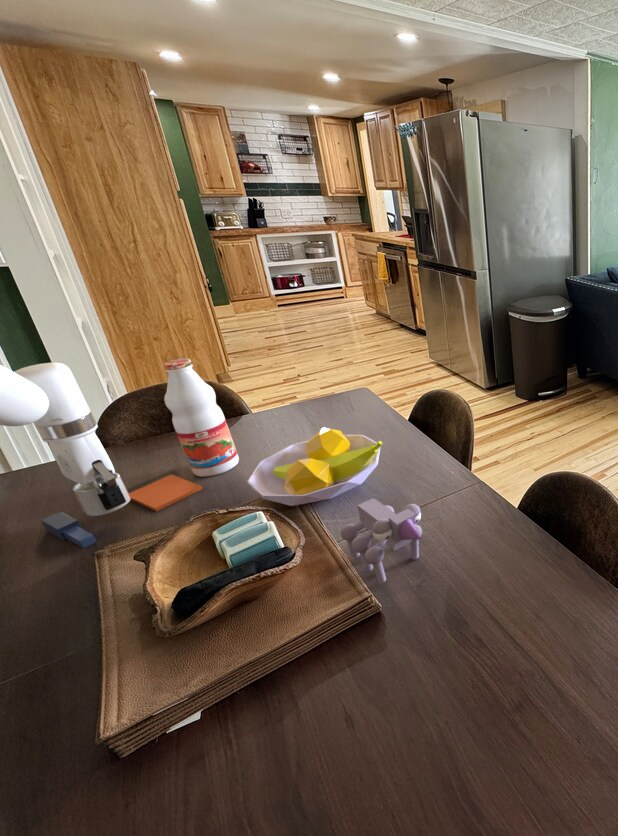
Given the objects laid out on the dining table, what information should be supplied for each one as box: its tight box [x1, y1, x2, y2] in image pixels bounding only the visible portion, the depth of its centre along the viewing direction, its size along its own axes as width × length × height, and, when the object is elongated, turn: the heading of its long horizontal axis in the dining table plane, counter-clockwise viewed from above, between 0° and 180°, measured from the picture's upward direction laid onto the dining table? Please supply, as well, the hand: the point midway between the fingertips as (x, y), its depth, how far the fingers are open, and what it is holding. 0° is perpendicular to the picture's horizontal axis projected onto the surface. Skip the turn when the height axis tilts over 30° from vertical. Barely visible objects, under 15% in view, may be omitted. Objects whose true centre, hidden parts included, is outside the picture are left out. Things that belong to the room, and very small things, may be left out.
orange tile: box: [128, 474, 203, 512], centre depth 107 cm, size 9×12×1 cm
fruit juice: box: [163, 358, 240, 478], centre depth 112 cm, size 9×9×28 cm
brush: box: [40, 511, 98, 549], centre depth 94 cm, size 3×14×3 cm, turn 66°
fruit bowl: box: [246, 427, 384, 507], centre depth 109 cm, size 28×27×11 cm
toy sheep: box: [339, 497, 423, 585], centre depth 84 cm, size 20×11×14 cm, turn 53°
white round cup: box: [72, 471, 131, 517], centre depth 98 cm, size 7×7×6 cm
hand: (106, 501), depth 98 cm, fingers closed on white round cup, 6 cm apart
